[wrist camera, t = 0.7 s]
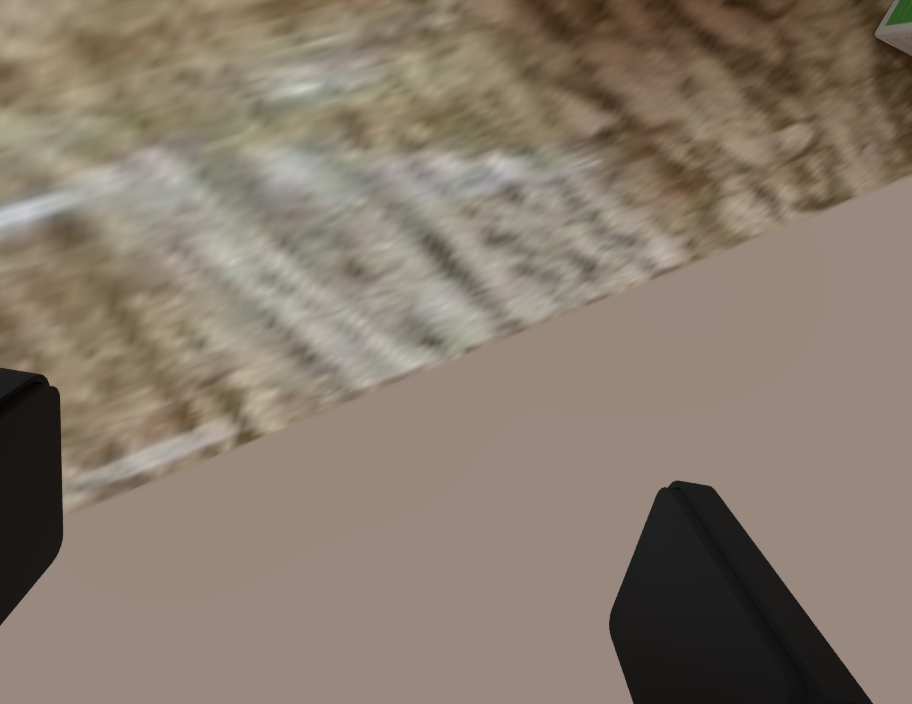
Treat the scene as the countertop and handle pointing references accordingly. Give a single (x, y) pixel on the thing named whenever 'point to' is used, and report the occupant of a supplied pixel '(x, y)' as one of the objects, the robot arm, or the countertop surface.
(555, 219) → the countertop surface
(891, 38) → the skincare box
